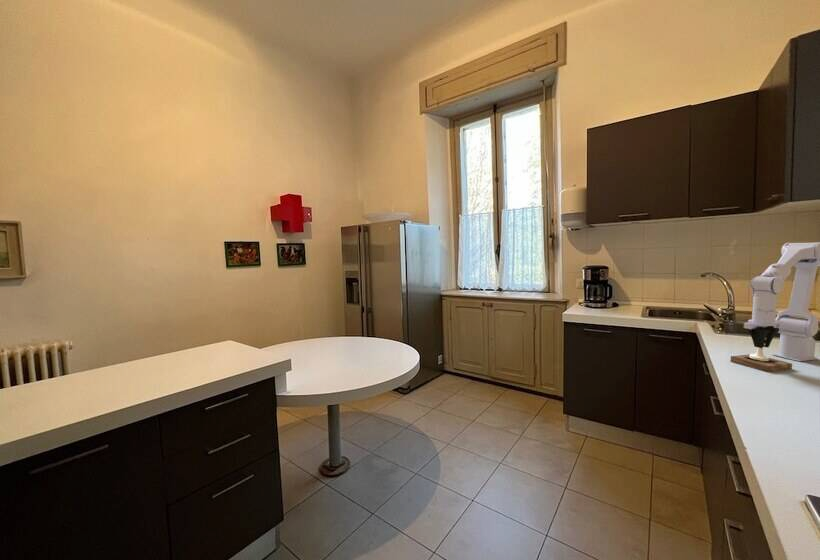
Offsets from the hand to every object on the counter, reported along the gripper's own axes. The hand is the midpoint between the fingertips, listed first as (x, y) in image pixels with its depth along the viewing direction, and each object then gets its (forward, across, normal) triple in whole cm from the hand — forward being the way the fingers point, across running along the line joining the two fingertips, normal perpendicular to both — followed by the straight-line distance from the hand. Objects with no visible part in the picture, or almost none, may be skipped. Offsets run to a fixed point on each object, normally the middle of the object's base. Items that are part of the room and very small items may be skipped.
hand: (761, 346), depth 117 cm
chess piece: (+5, 0, 0) cm, 5 cm away
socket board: (+7, 0, 0) cm, 7 cm away
